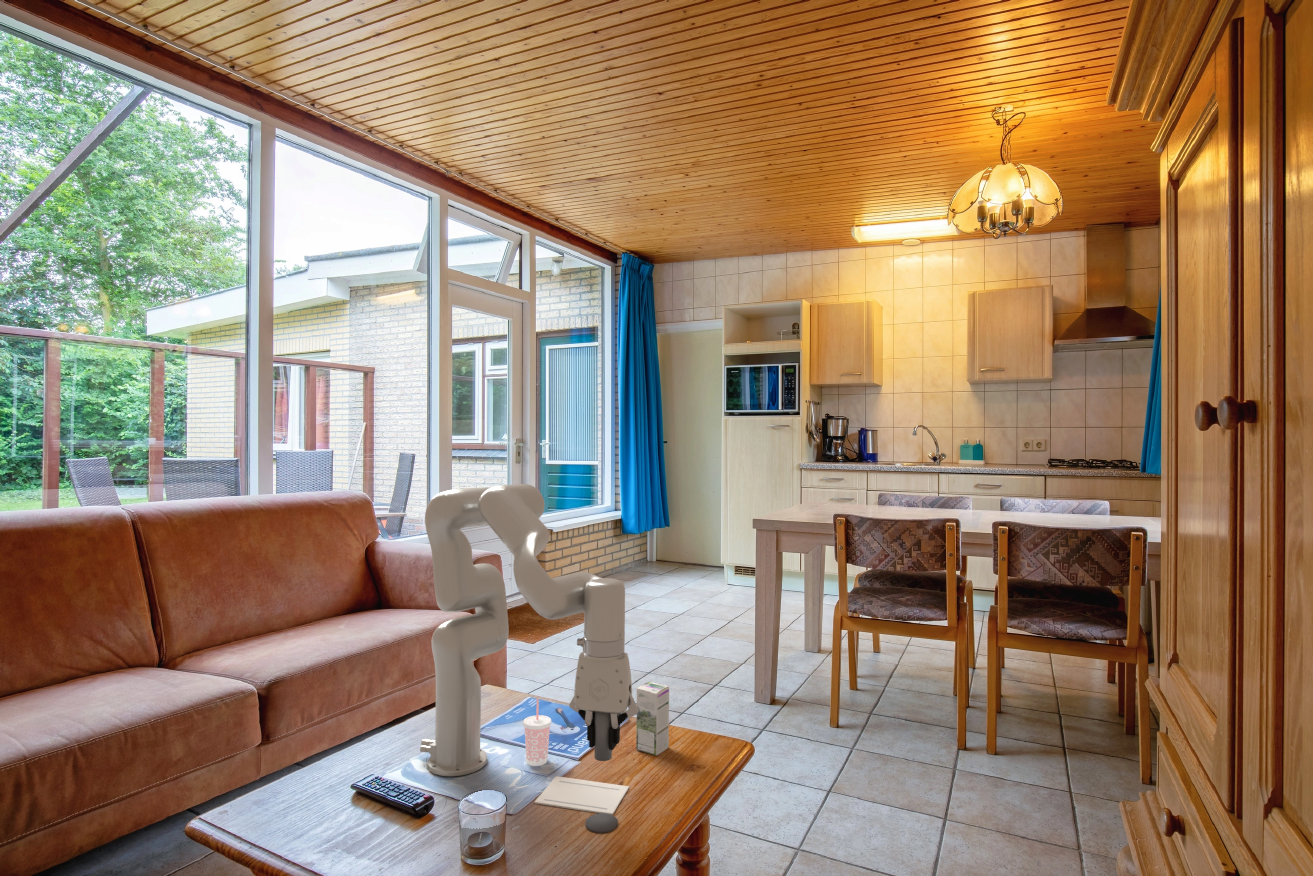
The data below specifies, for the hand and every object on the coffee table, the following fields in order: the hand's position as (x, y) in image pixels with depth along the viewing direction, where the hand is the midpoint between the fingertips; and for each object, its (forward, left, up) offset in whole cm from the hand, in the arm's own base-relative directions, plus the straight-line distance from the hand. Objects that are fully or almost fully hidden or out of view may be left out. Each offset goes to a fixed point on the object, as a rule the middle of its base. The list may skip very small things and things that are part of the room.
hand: (603, 745), depth 132 cm
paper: (-7, +9, -15) cm, 19 cm away
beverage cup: (-22, +21, -15) cm, 34 cm away
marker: (0, 0, -2) cm, 2 cm away
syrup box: (+1, +34, -15) cm, 37 cm away
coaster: (0, 0, -15) cm, 15 cm away
